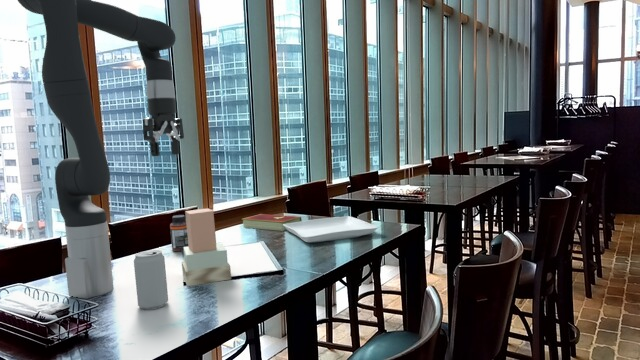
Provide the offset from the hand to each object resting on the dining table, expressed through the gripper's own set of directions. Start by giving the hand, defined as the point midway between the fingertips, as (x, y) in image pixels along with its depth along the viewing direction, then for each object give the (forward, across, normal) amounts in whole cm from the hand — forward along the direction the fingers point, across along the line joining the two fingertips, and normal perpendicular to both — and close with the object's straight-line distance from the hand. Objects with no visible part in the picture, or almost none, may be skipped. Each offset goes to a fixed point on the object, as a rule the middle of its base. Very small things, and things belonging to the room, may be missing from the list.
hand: (166, 155), depth 137 cm
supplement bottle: (+32, +17, +11) cm, 38 cm away
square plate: (+33, +47, -30) cm, 65 cm away
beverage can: (+32, -29, -17) cm, 47 cm away
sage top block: (+28, -8, -16) cm, 34 cm away
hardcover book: (+33, +57, -2) cm, 66 cm away
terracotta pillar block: (+24, -8, -16) cm, 30 cm away
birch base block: (+32, -8, -16) cm, 37 cm away
